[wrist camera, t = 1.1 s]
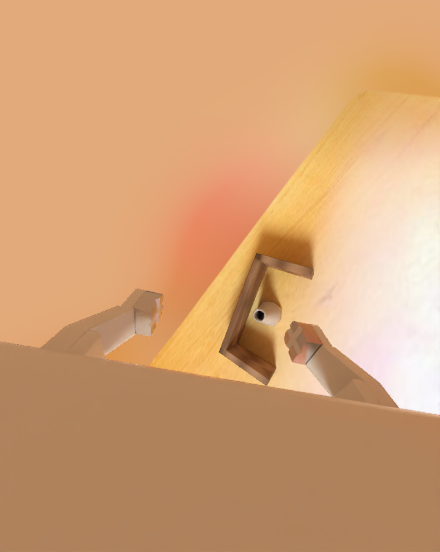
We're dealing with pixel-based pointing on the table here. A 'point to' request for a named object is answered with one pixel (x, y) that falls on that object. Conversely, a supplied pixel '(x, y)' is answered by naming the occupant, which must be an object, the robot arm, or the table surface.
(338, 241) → the table surface
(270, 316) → the flask
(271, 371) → the u-shaped enclosure
